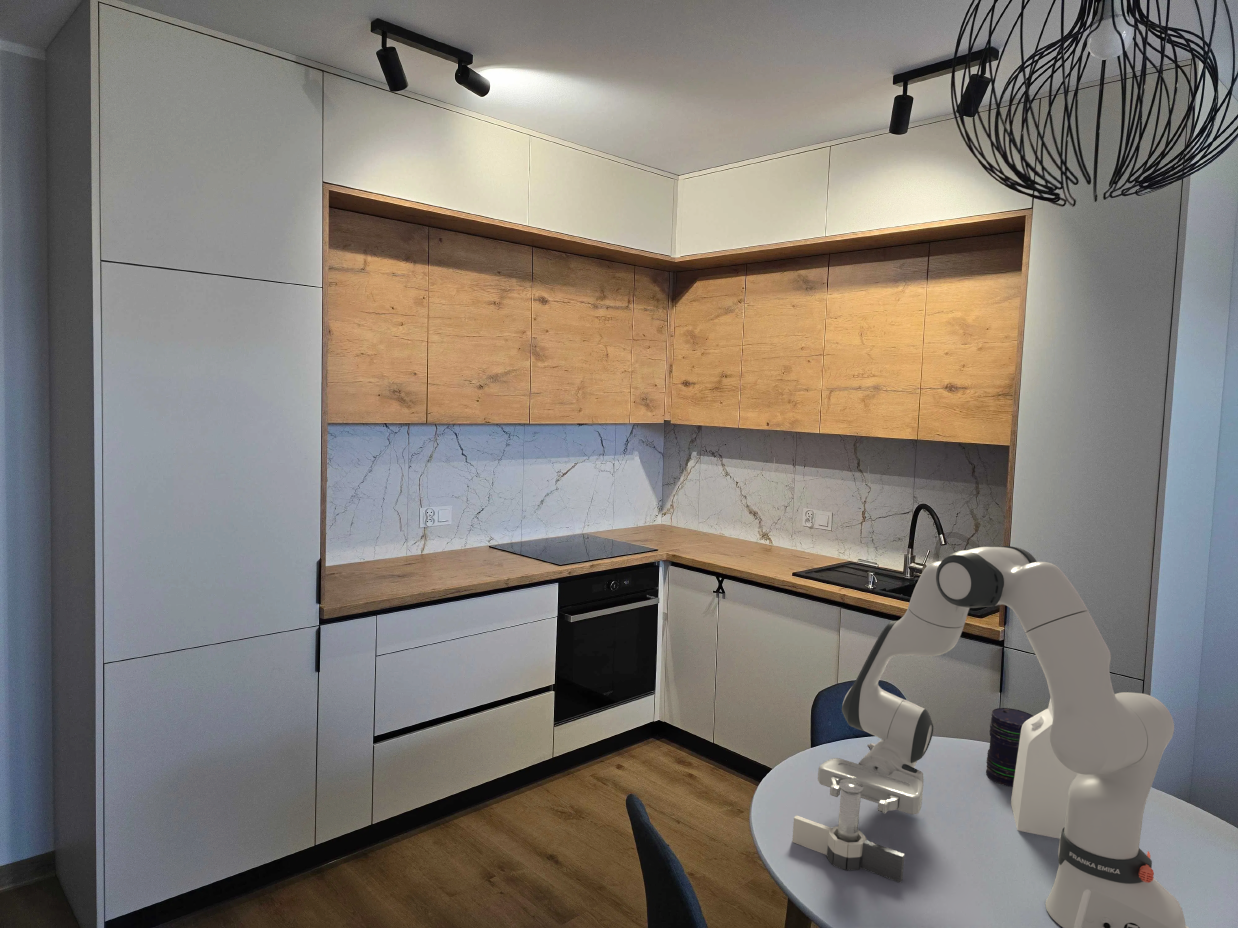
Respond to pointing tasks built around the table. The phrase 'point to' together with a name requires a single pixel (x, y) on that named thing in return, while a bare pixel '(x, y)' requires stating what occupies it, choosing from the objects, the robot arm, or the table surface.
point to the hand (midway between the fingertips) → (857, 800)
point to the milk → (1040, 780)
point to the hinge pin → (849, 810)
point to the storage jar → (1004, 744)
